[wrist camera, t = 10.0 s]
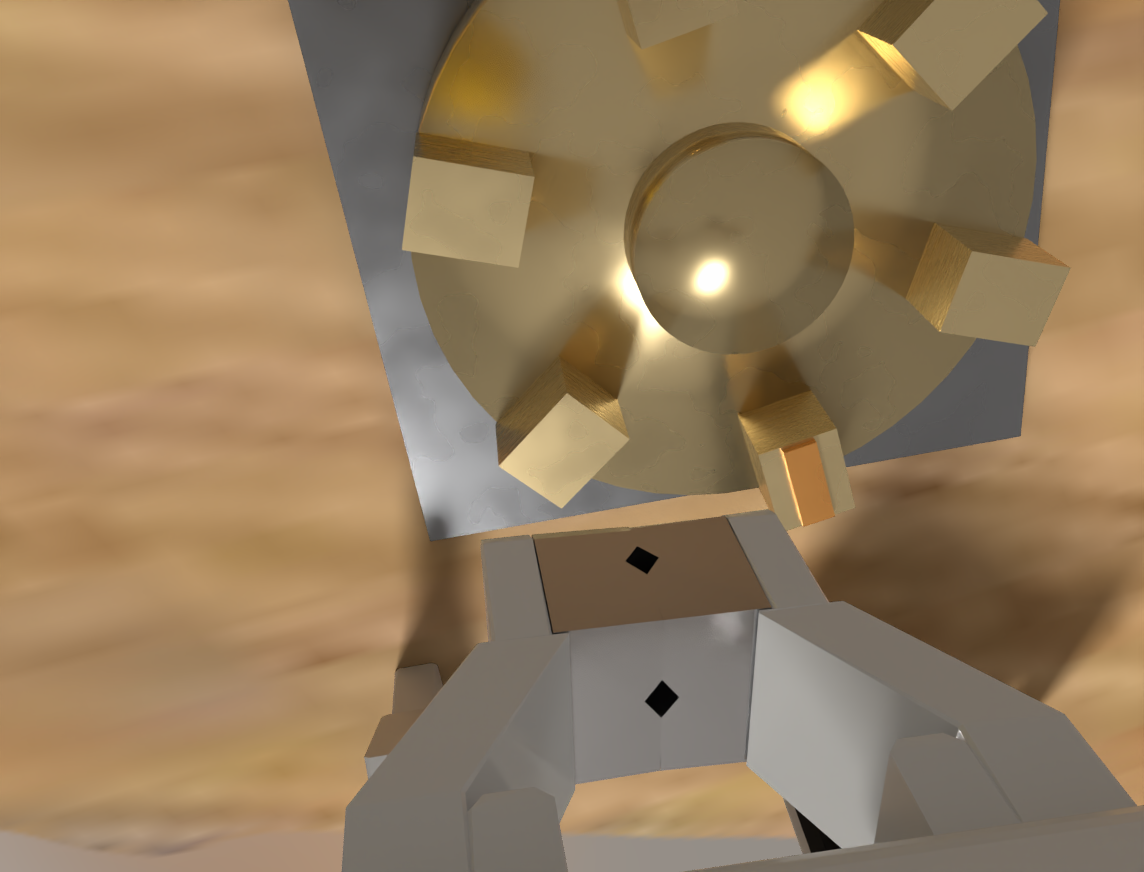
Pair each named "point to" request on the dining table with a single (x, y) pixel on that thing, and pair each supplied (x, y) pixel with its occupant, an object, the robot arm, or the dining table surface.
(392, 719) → the grey angled block
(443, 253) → the gold radial fin assembly
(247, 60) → the dining table surface
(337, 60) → the base plate
